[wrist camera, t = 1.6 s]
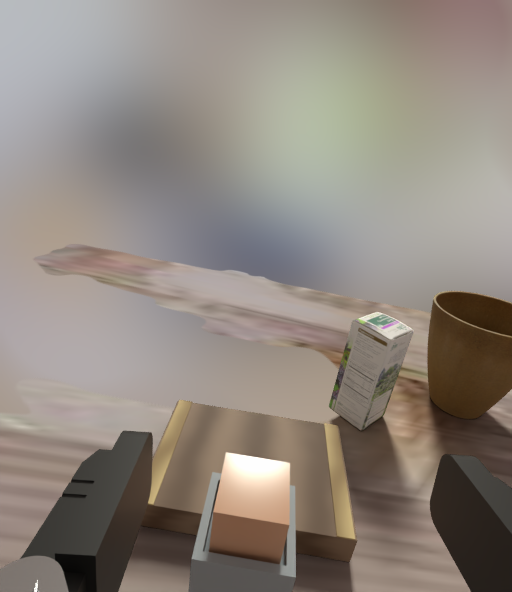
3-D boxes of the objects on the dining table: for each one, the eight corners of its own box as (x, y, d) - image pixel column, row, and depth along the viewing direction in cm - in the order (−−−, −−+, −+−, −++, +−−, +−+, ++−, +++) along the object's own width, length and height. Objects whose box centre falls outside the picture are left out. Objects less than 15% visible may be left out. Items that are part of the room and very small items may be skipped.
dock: (133, 524, 34) (133, 500, 33) (177, 419, 47) (178, 399, 46) (349, 562, 33) (357, 539, 32) (333, 444, 46) (338, 425, 45)
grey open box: (180, 681, 25) (191, 558, 20) (199, 588, 30) (212, 472, 25) (262, 697, 25) (295, 577, 19) (268, 601, 30) (295, 486, 25)
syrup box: (351, 394, 56) (375, 308, 51) (385, 417, 52) (415, 327, 47) (327, 407, 53) (350, 317, 47) (362, 433, 49) (392, 338, 43)
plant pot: (439, 367, 67) (470, 285, 61) (526, 421, 56) (576, 328, 49) (383, 385, 59) (412, 295, 53) (471, 452, 48) (522, 347, 42)
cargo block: (207, 559, 21) (213, 512, 19) (220, 497, 24) (226, 452, 23) (277, 572, 21) (289, 525, 19) (280, 507, 24) (289, 462, 23)
